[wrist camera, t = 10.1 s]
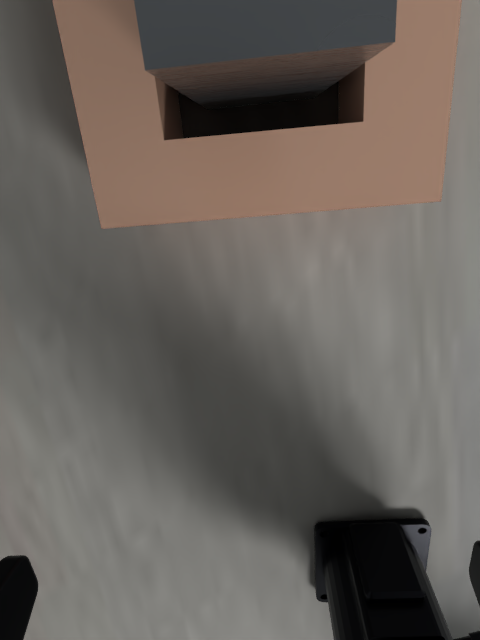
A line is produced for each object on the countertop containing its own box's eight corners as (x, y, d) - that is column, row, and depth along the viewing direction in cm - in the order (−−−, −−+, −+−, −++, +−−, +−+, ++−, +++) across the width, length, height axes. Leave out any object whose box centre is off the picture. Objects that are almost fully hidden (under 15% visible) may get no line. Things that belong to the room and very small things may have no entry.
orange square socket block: (400, 187, 17) (441, 201, 13) (133, 210, 18) (101, 228, 14) (424, -194, 13) (495, -332, 9) (68, -145, 13) (-3, -254, 10)
